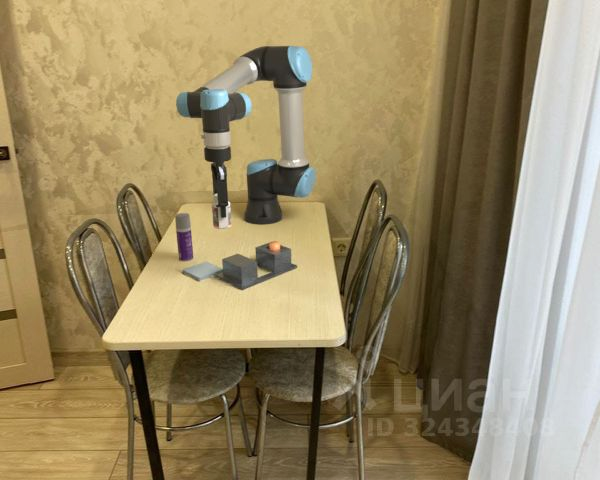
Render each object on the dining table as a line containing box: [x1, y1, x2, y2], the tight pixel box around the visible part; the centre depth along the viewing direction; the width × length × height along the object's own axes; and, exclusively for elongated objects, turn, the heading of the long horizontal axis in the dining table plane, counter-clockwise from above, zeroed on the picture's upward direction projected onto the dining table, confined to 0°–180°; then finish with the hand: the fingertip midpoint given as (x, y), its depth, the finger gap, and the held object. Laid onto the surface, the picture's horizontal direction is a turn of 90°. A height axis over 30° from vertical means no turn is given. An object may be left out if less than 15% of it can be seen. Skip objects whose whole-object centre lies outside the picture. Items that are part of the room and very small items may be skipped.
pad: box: [182, 260, 223, 282], centre depth 168 cm, size 9×9×1 cm
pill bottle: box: [211, 194, 232, 230], centre depth 160 cm, size 5×5×10 cm
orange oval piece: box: [268, 240, 281, 251], centre depth 171 cm, size 3×3×5 cm
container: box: [174, 212, 194, 262], centre depth 175 cm, size 5×5×15 cm
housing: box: [214, 242, 298, 291], centre depth 166 cm, size 22×13×6 cm, turn 135°
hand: (222, 223), depth 162 cm, fingers closed on pill bottle, 5 cm apart
